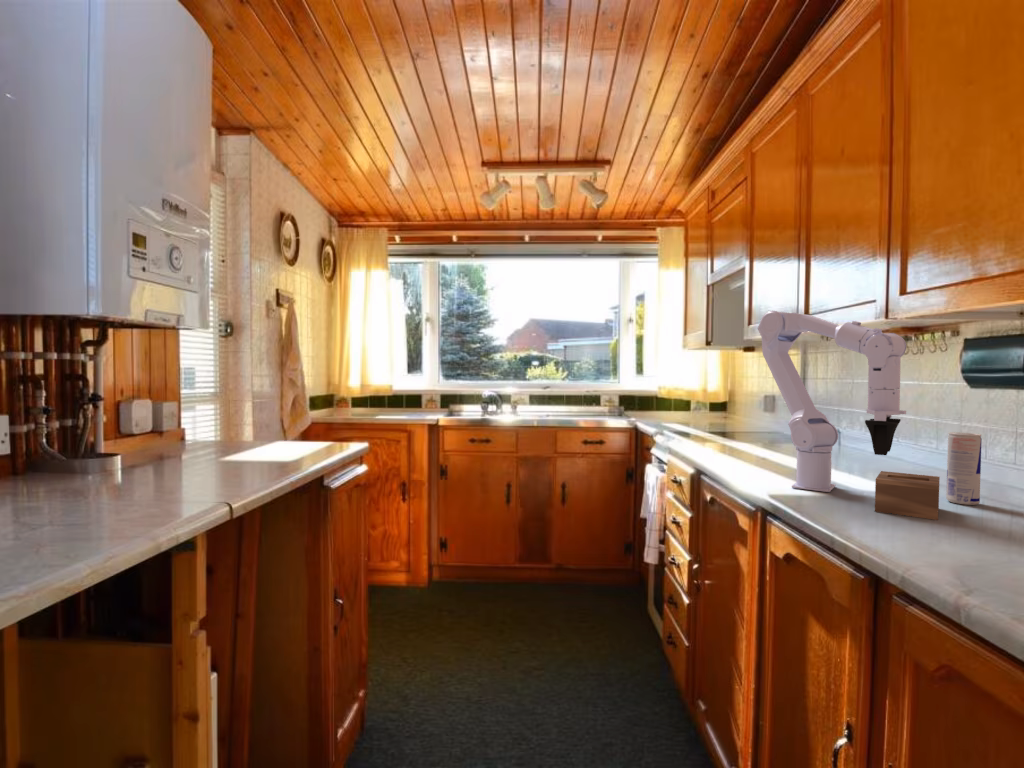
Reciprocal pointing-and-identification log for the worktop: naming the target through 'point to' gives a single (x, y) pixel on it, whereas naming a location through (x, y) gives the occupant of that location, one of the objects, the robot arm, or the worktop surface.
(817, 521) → the worktop surface
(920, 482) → the money box
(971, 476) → the white cylindrical canister
